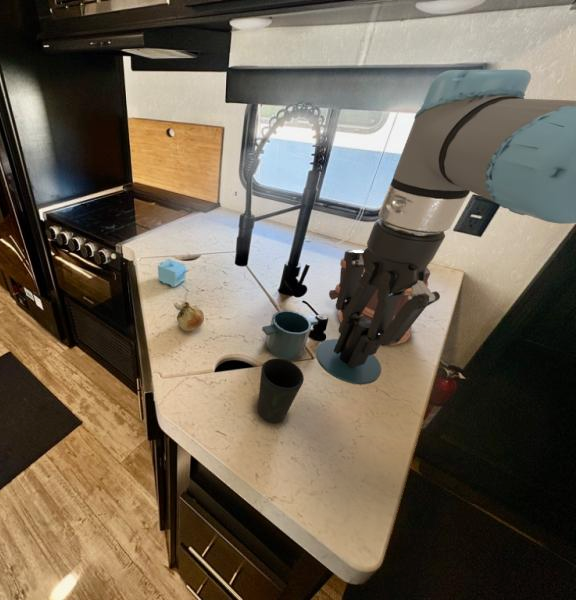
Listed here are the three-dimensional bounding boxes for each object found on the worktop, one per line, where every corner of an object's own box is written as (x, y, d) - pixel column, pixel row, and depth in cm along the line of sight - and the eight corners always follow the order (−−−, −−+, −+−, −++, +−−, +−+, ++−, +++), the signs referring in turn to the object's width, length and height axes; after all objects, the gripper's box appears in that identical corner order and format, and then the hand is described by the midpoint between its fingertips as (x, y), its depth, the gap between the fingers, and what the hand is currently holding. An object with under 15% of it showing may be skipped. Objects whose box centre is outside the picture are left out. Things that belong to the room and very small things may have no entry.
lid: (393, 378, 50) (418, 337, 45) (342, 393, 48) (363, 352, 43) (348, 338, 58) (365, 298, 53) (302, 349, 56) (316, 309, 50)
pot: (319, 352, 79) (328, 327, 75) (269, 365, 76) (276, 339, 71) (297, 330, 87) (304, 305, 82) (251, 341, 83) (255, 316, 78)
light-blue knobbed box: (193, 284, 106) (194, 264, 102) (183, 292, 102) (183, 272, 98) (165, 273, 112) (165, 255, 108) (155, 280, 108) (154, 261, 104)
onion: (180, 338, 84) (181, 315, 79) (173, 320, 90) (173, 298, 85) (207, 334, 85) (209, 310, 81) (197, 316, 92) (199, 294, 87)
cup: (275, 392, 69) (286, 354, 62) (297, 420, 64) (312, 382, 57) (245, 402, 67) (253, 364, 60) (266, 433, 61) (277, 394, 54)
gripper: (340, 206, 43) (300, 332, 57) (451, 257, 31) (366, 400, 45) (382, 201, 45) (334, 324, 59) (502, 247, 33) (406, 387, 47)
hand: (348, 357), depth 52 cm, fingers closed on lid, 3 cm apart
